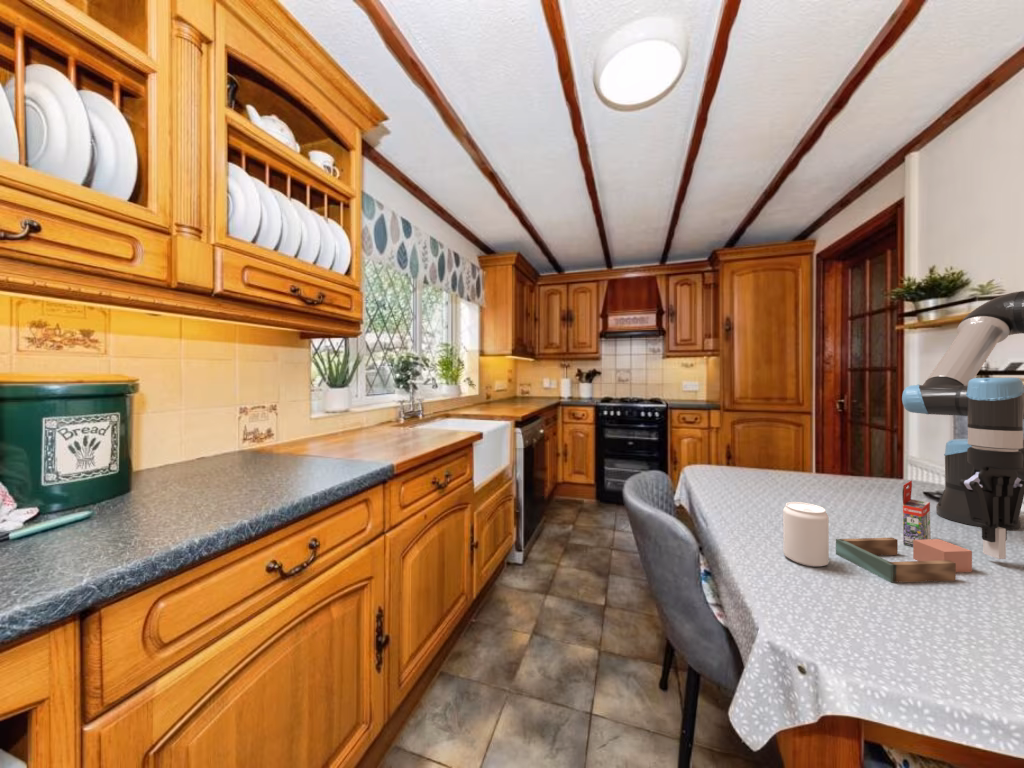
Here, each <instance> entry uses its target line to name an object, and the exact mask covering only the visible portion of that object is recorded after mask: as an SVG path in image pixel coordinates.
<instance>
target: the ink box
mask: <svg viewBox="0 0 1024 768" xmlns="http://www.w3.org/2000/svg"><path fill="white" fill-rule="evenodd" d="M912 488H913V481H912V480H909V481H908V482H906V483H905V484H903V485H902V492H901V494H902V543H903V545H906V546H910V547H912V548H913V540H924V539H931V538H932V535H931V502H929V501H924V500H923V501H922V500H919V499H912Z"/></svg>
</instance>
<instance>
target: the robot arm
mask: <svg viewBox="0 0 1024 768" xmlns="http://www.w3.org/2000/svg"><path fill="white" fill-rule="evenodd" d="M956 334H957V335H956V337H954V340H953V341H952V343H951V344H950V346H949V347H948V348H947V350H946V351H945V353H944V354H943V356H941V359H940V360H939V361H938V363H937V364H936V366H935V368H934V369H933V370H932V372H931V373H930V375H929V376H928V378H927V379H926V380H925V382H924V383H923V384H916V385H915V384H913V385H912V384H911V385H908V386H906V387H905V388H904V390H903V391H902V394H901V395H902V396H901V401H902V405H903V407H904V409H905V410H906V411H907V412H909V413H912V414H914V413H915V414H924V415H935V416H936V415H939V416H940V415H941V416H957V417H958V416H959V417H960V416H961V417H962V416H963V417H964V416H965V417H967V438H953V439H949V440H948V441H947V442H946V443H945V451H944V454H943V455H944V477H945V478H944V483H945V484H944V485H945V486H944V490H943V492H942V494H941V496H940V498H939V499H938V502H937V503H936V511H935V512H936V515H938V516H940V517H941V518H944V519H946V520H950V521H953V522H957V523H961V524H965V525H970V526H974V527H980V528H981V538H982V553H983V554H985V555H987V556H990V557H992V558H995V559H999V560H1006V558H1007V557H1006V556H1007V549H1006V547H1007V545H1006V543H1007V538H1008V536H1007V535H1008V533H1007V531H1008V530H1009V531H1013V530H1015V531H1016V530H1019V529H1021V528H1022V527H1021V526H1022V522H1021V521H1022V520H1021V517H1020V514H1021V509H1022V507H1023V502H1024V384H1023V380H1022V379H1020V378H1019V377H976V376H978V375H977V374H978V373H979V372H980V370H981V368H982V367H983V365H984V364H985V362H986V361H987V359H988V358H989V356H990V355H991V353H992V352H993V350H994V349H995V347H996V346H997V344H998V343H1001V342H1003V341H1005V340H1006V339H1007V338H1008V336H1011V335H1020V334H1024V290H1022V291H1015V292H1009V293H1007V294H1003V295H999V296H997V297H995V298H993V299H990V300H988V301H987V302H985V303H983V304H981V305H979V306H978V307H977V308H975V309H974V310H973V309H972V311H971V312H969V313H968V314H967V315H966V316H965V317H963V319H962V320H961V322H959V324H958V326H957V328H956Z"/></svg>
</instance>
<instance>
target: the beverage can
mask: <svg viewBox="0 0 1024 768" xmlns="http://www.w3.org/2000/svg"><path fill="white" fill-rule="evenodd" d="M782 517H783V518H782V521H783V523H782V528H783V532H782V535H783V537H782V541H783V549H782V550H783V555H784V556H785V557H787V558H788V559H790V560H791V561H792V562H795V563H797V564H799V565H802V566H808V567H814V568H815V567H818V568H819V567H823V566H827V565H828V564H829V563H830V562H829V561H830V560H829V559H830V555H829V552H830V551H829V550H830V548H829V547H830V545H829V543H830V541H829V540H830V539H829V537H830V536H829V532H830V531H829V529H830V528H829V521H830V520H829V515H828V514H827V512H826V509H825V507H822V506H820V505H816V504H812V503H809V502H808V503H807V502H802V501H800V502H798V501H790V502H786V503H785V506H784V508H783V509H782Z"/></svg>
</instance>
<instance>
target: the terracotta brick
mask: <svg viewBox="0 0 1024 768" xmlns="http://www.w3.org/2000/svg"><path fill="white" fill-rule="evenodd" d="M912 548H913V551H912V552H913V553H912V554H913V558H912V559H913V560H914V561H942V560H949V561H952V562H954V563H956V573H965V572H966V573H971V572H973V551H972V550H971V549H968V548H964V547H962V546H959V545H958V544H957V545H956V544H954V543H950V542H949V541H946V540H942V539H940V538H933V539H924V540H913V547H912Z"/></svg>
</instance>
